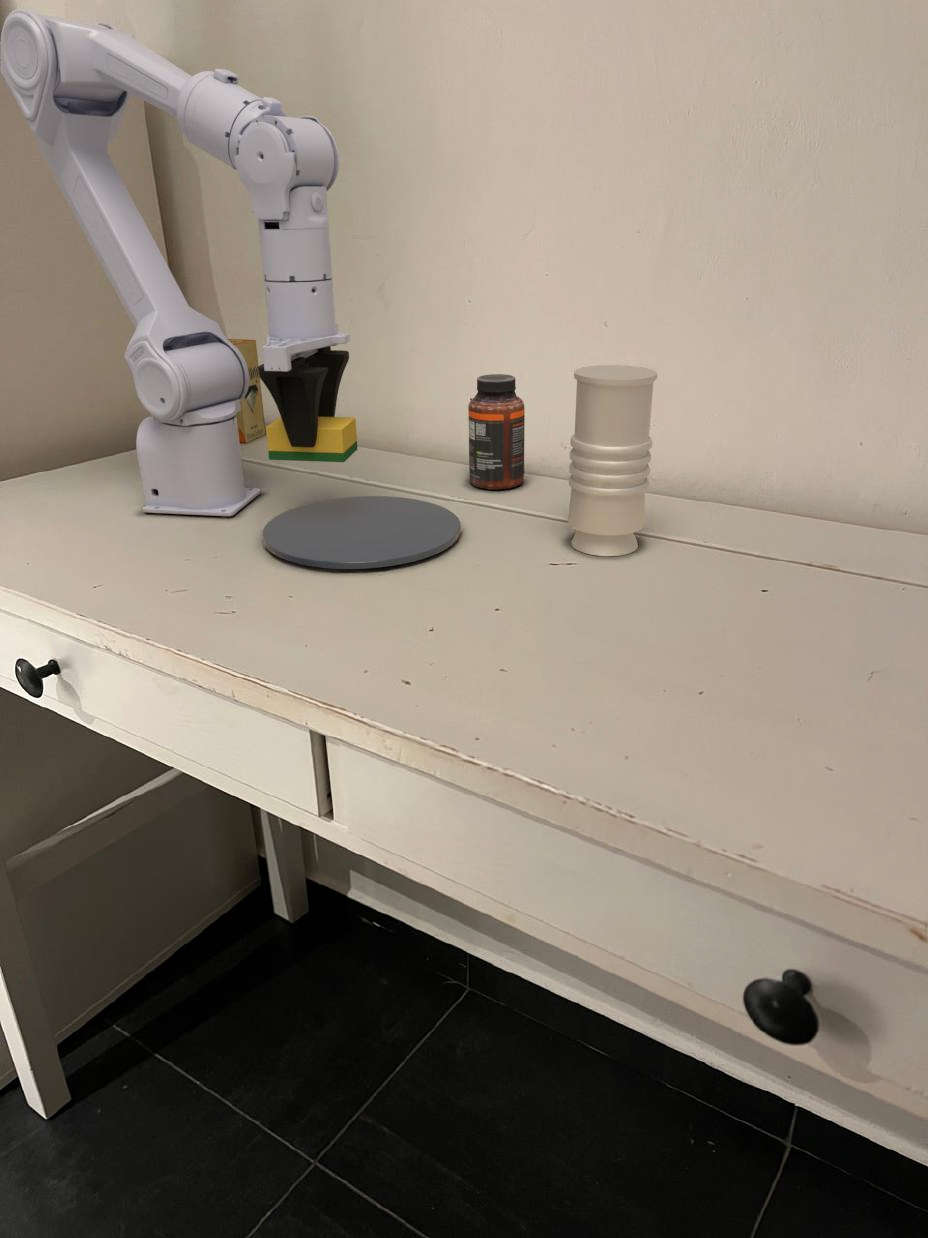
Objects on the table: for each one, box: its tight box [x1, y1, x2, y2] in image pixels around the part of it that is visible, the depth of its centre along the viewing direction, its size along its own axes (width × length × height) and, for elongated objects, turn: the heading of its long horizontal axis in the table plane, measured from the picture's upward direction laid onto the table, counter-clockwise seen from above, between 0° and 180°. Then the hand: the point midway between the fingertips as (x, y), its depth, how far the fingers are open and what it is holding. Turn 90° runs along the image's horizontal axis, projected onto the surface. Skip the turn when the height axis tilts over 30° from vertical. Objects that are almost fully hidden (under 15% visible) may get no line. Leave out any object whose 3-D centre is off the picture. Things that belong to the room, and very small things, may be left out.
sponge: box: [265, 416, 358, 463], centre depth 80 cm, size 7×4×3 cm, turn 81°
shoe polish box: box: [227, 338, 267, 444], centre depth 113 cm, size 5×5×12 cm
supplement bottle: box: [467, 373, 526, 491], centre depth 93 cm, size 6×6×11 cm
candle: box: [567, 364, 658, 557], centre depth 76 cm, size 7×7×15 cm
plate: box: [261, 495, 462, 570], centre depth 81 cm, size 18×18×1 cm
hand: (312, 439), depth 80 cm, fingers closed on sponge, 4 cm apart
